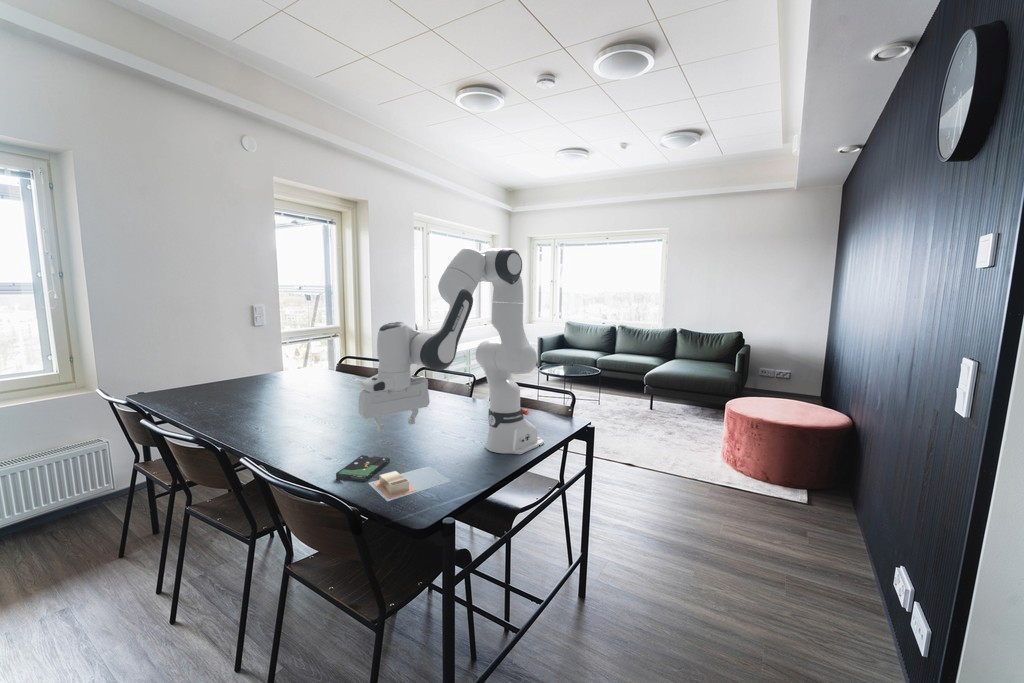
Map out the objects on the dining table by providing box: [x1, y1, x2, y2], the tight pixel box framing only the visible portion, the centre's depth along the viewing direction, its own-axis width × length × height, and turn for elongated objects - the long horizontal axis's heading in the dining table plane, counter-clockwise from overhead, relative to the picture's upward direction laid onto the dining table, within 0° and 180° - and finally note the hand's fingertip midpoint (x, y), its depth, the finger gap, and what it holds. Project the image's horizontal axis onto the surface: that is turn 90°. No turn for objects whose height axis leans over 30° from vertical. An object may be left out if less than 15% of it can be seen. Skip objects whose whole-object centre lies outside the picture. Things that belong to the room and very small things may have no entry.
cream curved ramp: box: [378, 470, 409, 495], centre depth 123 cm, size 9×5×3 cm, turn 39°
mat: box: [367, 465, 452, 502], centre depth 126 cm, size 20×14×1 cm
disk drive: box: [335, 454, 391, 482], centre depth 134 cm, size 10×3×15 cm
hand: (396, 427), depth 123 cm, fingers open, 8 cm apart
